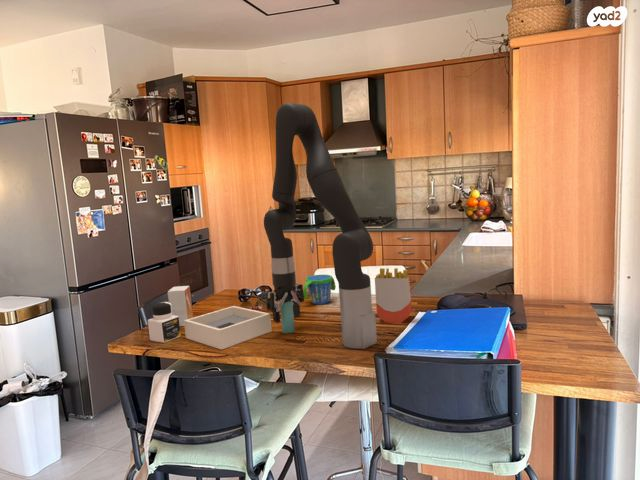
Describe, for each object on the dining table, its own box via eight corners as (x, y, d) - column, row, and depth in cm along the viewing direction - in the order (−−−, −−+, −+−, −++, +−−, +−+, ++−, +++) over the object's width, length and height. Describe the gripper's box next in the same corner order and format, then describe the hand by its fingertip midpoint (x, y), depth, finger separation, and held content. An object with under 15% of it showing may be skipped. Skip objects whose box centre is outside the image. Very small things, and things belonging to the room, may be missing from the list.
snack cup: (312, 309, 188) (310, 282, 187) (296, 304, 196) (294, 279, 195) (344, 300, 197) (342, 275, 196) (328, 296, 206) (326, 272, 204)
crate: (271, 331, 164) (270, 313, 164) (221, 349, 150) (219, 330, 149) (235, 322, 178) (233, 305, 177) (185, 338, 164) (183, 320, 163)
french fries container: (380, 317, 170) (377, 266, 168) (412, 318, 167) (409, 265, 164) (377, 321, 166) (374, 268, 164) (409, 323, 162) (407, 268, 160)
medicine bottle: (164, 343, 160) (160, 307, 159) (149, 340, 164) (145, 305, 163) (181, 336, 166) (177, 301, 165) (166, 334, 170) (162, 299, 169)
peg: (297, 330, 163) (294, 300, 162) (288, 334, 160) (285, 303, 159) (289, 328, 166) (286, 299, 164) (280, 332, 163) (277, 302, 162)
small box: (188, 325, 178) (184, 290, 176) (171, 327, 178) (166, 291, 176) (193, 319, 186) (190, 285, 185) (176, 320, 186) (172, 286, 184)
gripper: (274, 275, 153) (278, 327, 155) (307, 267, 163) (310, 315, 165) (258, 273, 158) (262, 323, 160) (291, 265, 168) (295, 312, 170)
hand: (287, 319), depth 163 cm, fingers open, 8 cm apart
